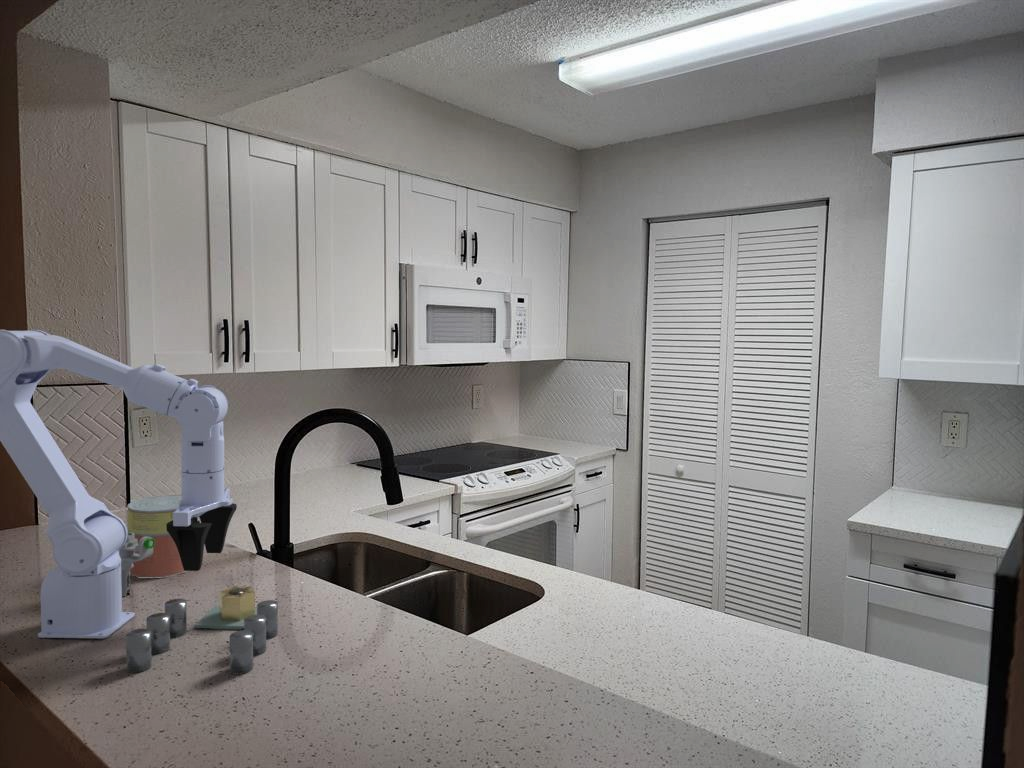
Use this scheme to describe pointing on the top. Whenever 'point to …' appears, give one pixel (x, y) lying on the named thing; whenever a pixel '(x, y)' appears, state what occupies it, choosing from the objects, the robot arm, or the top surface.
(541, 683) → the top surface
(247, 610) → the brass nut
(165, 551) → the canned food
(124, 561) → the mechanical component
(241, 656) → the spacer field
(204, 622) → the green mat
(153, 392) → the robot arm
